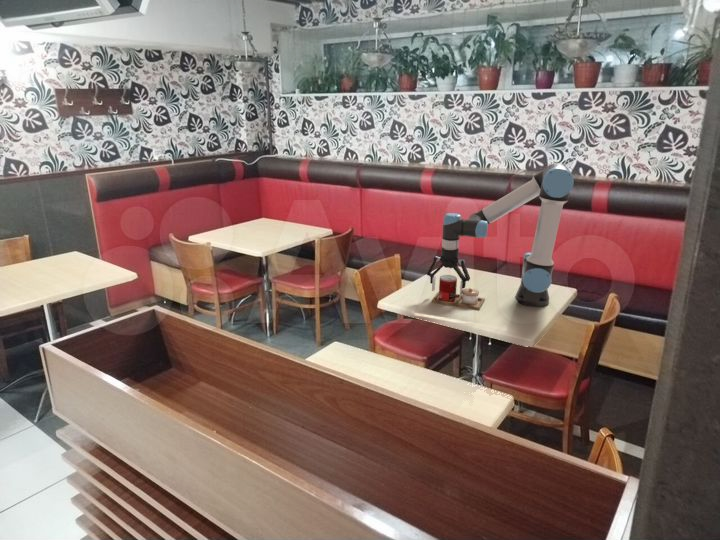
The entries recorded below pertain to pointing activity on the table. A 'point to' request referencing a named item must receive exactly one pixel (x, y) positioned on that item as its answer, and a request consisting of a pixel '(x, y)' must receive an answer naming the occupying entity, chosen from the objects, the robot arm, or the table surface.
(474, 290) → the sugar pot
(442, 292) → the canned food
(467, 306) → the wooden tray
